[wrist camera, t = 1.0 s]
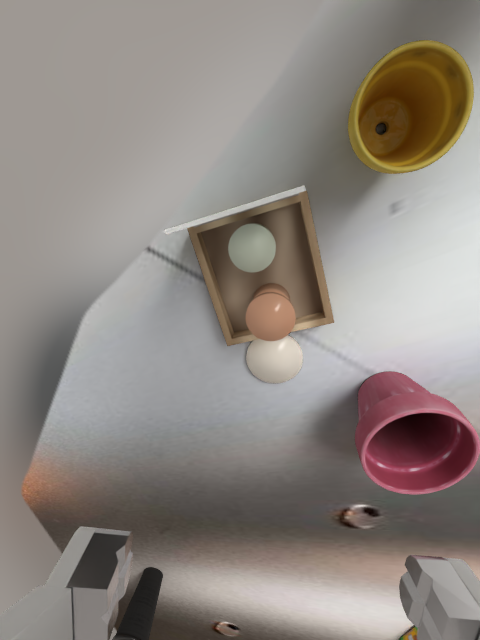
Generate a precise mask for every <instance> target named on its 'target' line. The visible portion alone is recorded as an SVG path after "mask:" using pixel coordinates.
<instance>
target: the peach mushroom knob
mask: <svg viewBox="0 0 480 640" xmlns="http://www.w3.org/2000/svg"><path fill="white" fill-rule="evenodd" d="M295 320H296V316H295V310H294V307H293V305H292V303H291V300H290V295H289V293H288V291H287V290H286V289H285V288H284V287H283V286H281V285H279V284H275V283H268V284H264V285H262V286H261V287H259V288H258V289H257V290H256V292H255V294H254V296H253V300H252V301H251V302H250V303H249V305H248V308H247V311H246V324H247V327H248V329H249V330H250V332H251V333H252V334H253V335H254V336H256V337H257V338H259V339H262V340H265V341H277V340H280V339H282V338H284V337H286V336H287V335H288V334H289V333H290V332H291V331H292V329H293V327H294V325H295Z"/></svg>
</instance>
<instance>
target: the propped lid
mask: <svg viewBox="0 0 480 640" xmlns="http://www.w3.org/2000/svg"><path fill="white" fill-rule="evenodd" d="M304 191H306V190H305V186H304V185H303V186H300V187H297V188H294V189H291V190H287V191H284V192H281V193H278V194H275V195H272V196H269V197H265V198H262V199H259V200H256V201H253V202H250V203H247V204H243V205H240V206H237V207H234V208H231V209H228V210H225V211H221V212H218V213H215V214H212V215H209V216H206V217H203V218H200V219H196V220H193V221H190V222H187V223H184V224H181V225H178V226H174V227H171V228H168V229H165V230H164V232H165V234H166V235H167V234H170V233H173V232H176V231H180V230H183V229H186V228H189V227H192V226H193V227H198V226H201V225H204V224H207V223H210V222H214V221H217V220H220V219H223V218H226V217H229V216H233V215H236V214H239V213H242V212H245V211H249V210H252V209H255V208H258V207H261V206H265V205H268V204H271V203H274V202H277V201H281V200H284V199H287V198H290V197H293V196H297V195H299V193H300V192H304Z"/></svg>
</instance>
